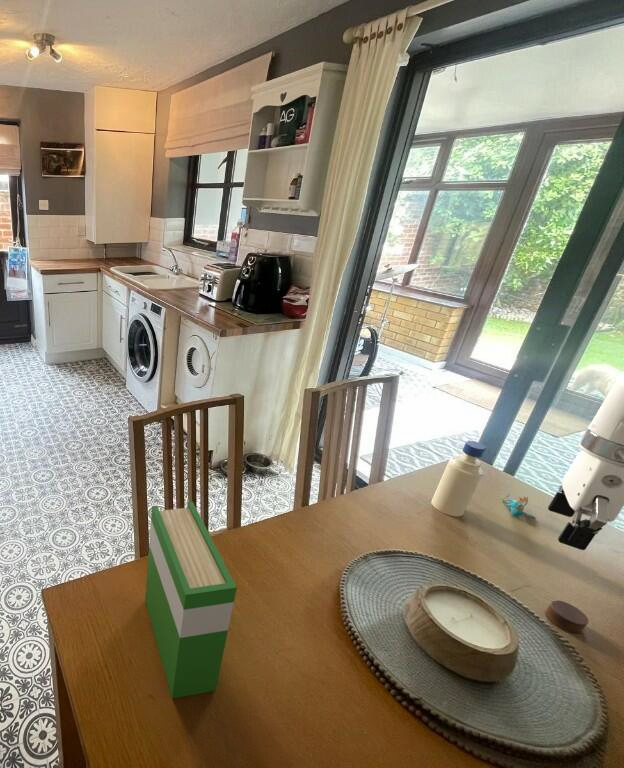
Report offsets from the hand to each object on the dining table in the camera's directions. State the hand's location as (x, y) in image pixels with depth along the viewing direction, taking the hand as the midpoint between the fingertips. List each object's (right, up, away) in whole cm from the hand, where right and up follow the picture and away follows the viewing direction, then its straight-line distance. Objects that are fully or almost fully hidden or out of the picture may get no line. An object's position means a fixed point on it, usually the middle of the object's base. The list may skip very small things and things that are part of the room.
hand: (564, 528), depth 72 cm
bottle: (+8, -7, +35) cm, 36 cm away
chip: (+7, -20, +6) cm, 22 cm away
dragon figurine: (+25, -8, +35) cm, 44 cm away
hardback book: (-68, -21, +1) cm, 72 cm away
